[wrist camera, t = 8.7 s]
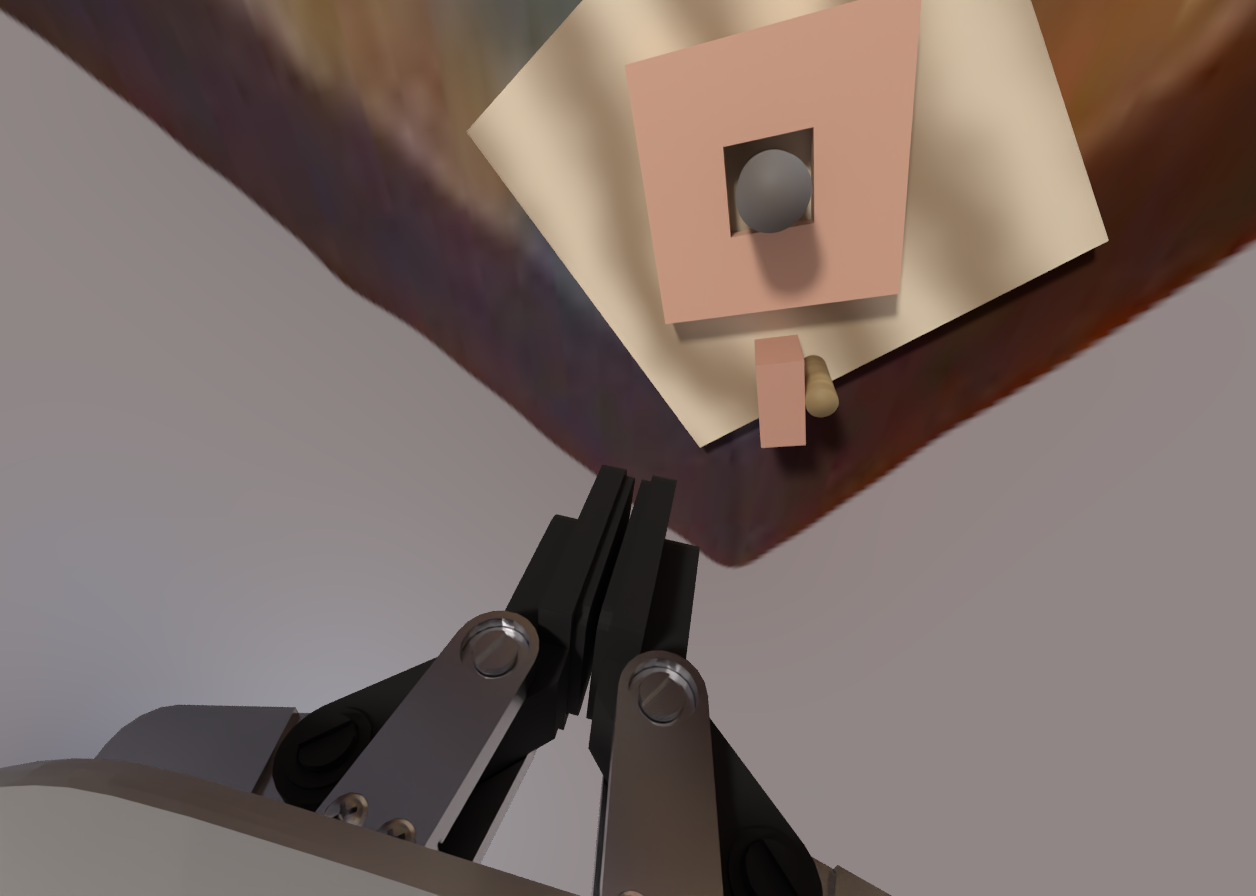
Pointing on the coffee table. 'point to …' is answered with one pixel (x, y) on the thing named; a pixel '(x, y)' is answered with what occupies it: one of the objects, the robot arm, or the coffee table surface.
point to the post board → (951, 202)
